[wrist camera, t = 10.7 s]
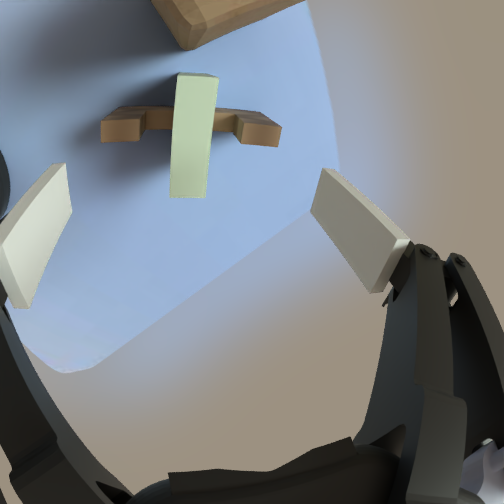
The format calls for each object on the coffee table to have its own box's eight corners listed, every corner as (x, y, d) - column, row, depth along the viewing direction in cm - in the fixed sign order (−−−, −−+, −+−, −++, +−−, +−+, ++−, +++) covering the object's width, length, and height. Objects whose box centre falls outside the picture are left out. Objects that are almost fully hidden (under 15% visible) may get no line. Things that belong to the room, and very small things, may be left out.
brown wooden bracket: (118, 123, 27) (101, 142, 21) (119, 106, 26) (100, 120, 20) (257, 127, 31) (277, 147, 25) (259, 111, 30) (281, 127, 24)
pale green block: (197, 156, 32) (205, 197, 23) (172, 156, 31) (169, 197, 23) (207, 73, 26) (219, 77, 18) (179, 72, 25) (177, 75, 17)
